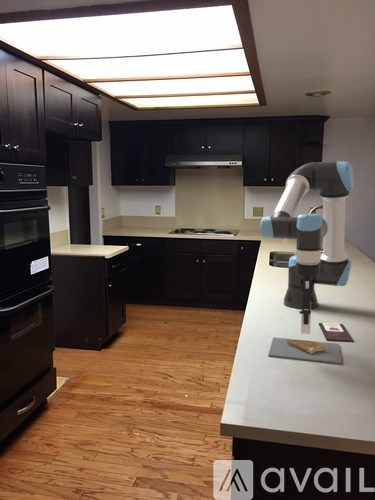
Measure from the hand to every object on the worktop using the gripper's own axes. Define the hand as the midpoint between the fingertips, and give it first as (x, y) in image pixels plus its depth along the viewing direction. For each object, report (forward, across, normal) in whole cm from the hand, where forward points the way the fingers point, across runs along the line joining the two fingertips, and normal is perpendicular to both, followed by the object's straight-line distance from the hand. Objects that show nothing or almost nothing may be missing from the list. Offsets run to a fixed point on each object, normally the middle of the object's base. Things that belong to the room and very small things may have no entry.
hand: (305, 326), depth 134 cm
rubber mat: (+8, +1, 0) cm, 8 cm away
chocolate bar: (+10, -20, +10) cm, 25 cm away
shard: (+8, +1, 0) cm, 8 cm away
